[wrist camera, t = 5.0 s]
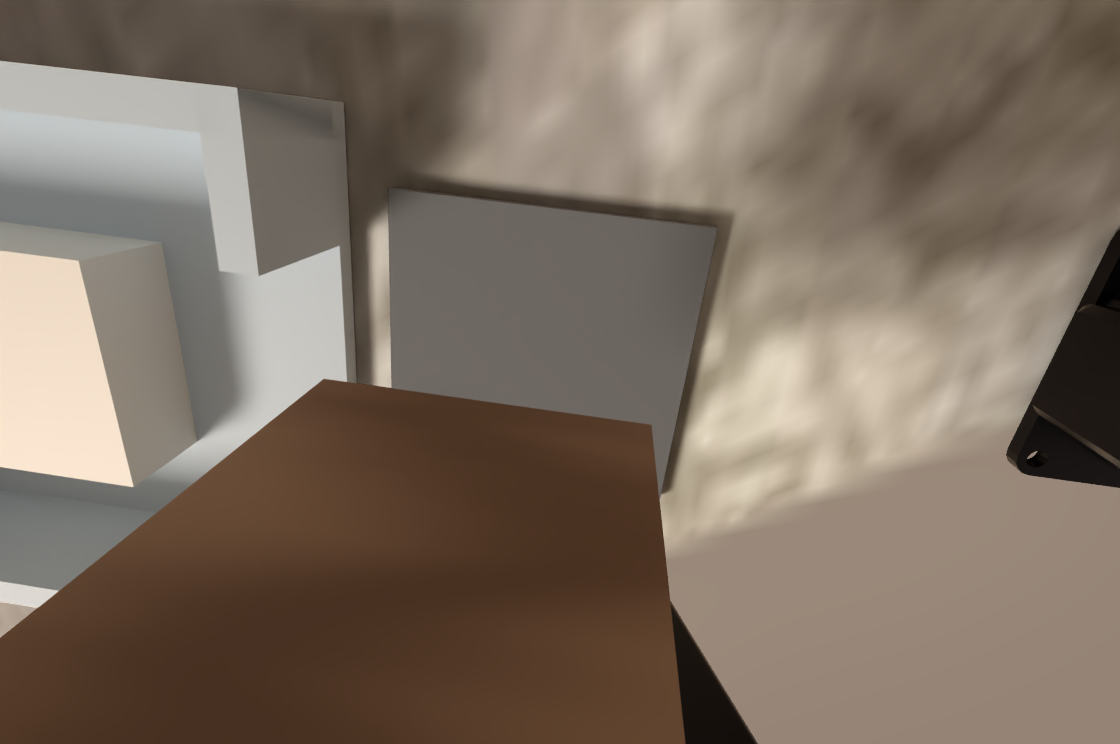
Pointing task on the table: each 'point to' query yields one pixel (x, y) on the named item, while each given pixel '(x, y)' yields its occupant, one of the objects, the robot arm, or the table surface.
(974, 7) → the table surface
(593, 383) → the rubber mat
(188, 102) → the access box
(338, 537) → the walnut block
